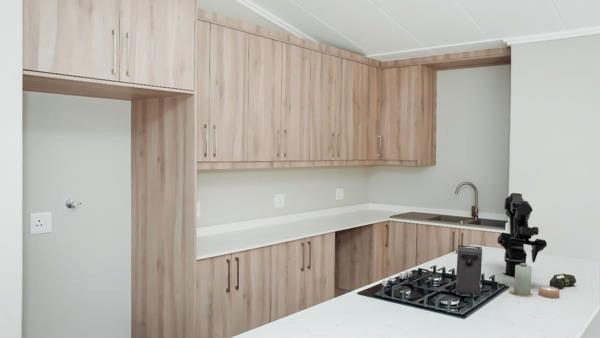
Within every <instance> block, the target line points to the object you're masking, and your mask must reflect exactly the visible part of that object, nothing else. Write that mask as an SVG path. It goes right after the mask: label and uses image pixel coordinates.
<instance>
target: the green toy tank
mask: <svg viewBox="0 0 600 338" xmlns="http://www.w3.org/2000/svg"><path fill="white" fill-rule="evenodd" d="M560 276H562V277H561V278H560ZM576 283H577V279H576V277H575V275H572V274H568V273H567V274H566V273H559V274H554V275H553V276H552V278H551V279H550V280H549V285H548V286H551V287H555V288H558V289H559V290H560V289H563V288H564V287H568V286H570V287H573V286H574V285H575V284H576Z"/></svg>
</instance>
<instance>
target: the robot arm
mask: <svg viewBox="0 0 600 338" xmlns="http://www.w3.org/2000/svg"><path fill="white" fill-rule="evenodd" d="M503 208H504V210H505V214H506V215H505V216H507V217H508V219H509V221H508V222H509V233H508V232H507V233H506V232H501V233H500V234H499V235H498V237H497V244H498V245H500V246H501V247H503V249H504V257H503V258H504V259H503V261H504V262H505V272H503V275H505V276H508V277H509V276H510V277H512V278H513V277H514V278H515V265H520V264H521V263H527V262H526V261H527V256H528V254H527V253H526V250H525V247H524V246H525V245H527V246H531V261H532V263H535V262H536V259H537V256H538V253H539V252H541V251H543V250H544V249H545V248H547V245H548V243H547V241H546V240H545V239H542V238H536V239H534V240H531V239H532V236H533V237H534V236H538V235H539V227H537V226H533V227H530V226H529V219H530V216H531V214H532V212H533V208H532V206H531V203H529V201H528V200H524V198H523V194H522V193H517V192H512V193H510V194H509V196H508V197H506V198H505V199H504V207H503Z"/></svg>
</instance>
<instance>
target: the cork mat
mask: <svg viewBox="0 0 600 338" xmlns="http://www.w3.org/2000/svg"><path fill="white" fill-rule="evenodd" d="M508 293H509V294H511V295H513V296H518V297H525V298H526V297H527V298H528V297H529V298H530V297H533V296H534V294H533V293H532V292H530V295H529V296H522V295H517V294H515V293H514V289H510V290H509V291H508Z"/></svg>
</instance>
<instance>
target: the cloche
mask: <svg viewBox="0 0 600 338" xmlns="http://www.w3.org/2000/svg"><path fill="white" fill-rule="evenodd" d="M532 270H533V269H532V266H531V265H528V263H527V262H526V263H521V264H520V265H515V277H514V283H513V284H514V285H513V290H514V293H515V294H517V295H522V296H521V297H523V296H529V295H530V293H531V289H532V288H531V287H532V272H533V271H532ZM517 295H516V296H517Z"/></svg>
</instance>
